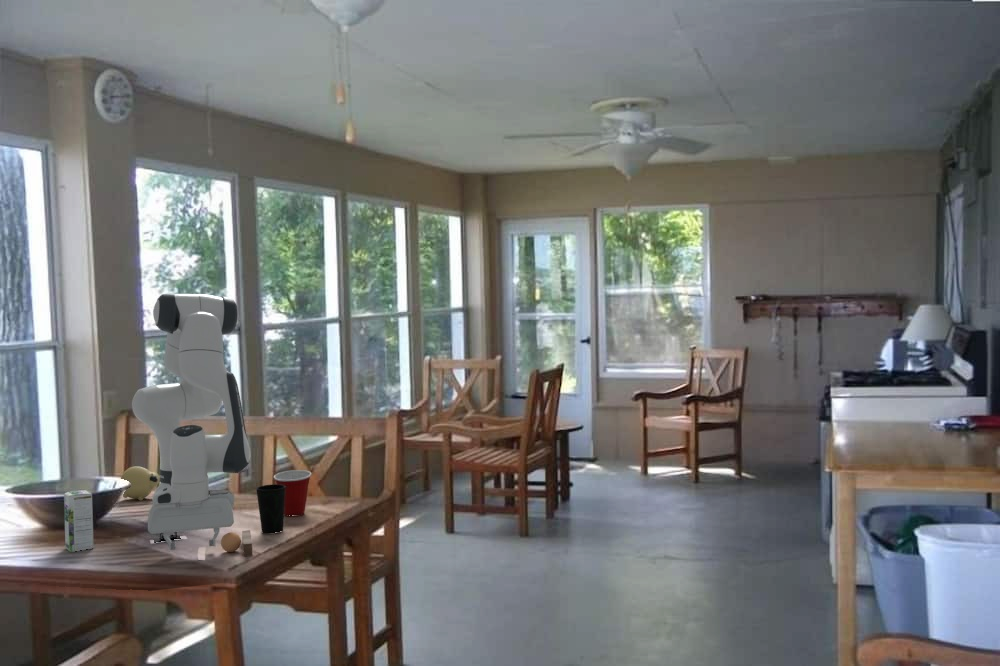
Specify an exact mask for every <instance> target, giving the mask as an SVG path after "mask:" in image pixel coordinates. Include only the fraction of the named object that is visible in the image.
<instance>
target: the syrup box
mask: <svg viewBox="0 0 1000 666" xmlns="http://www.w3.org/2000/svg"><path fill="white" fill-rule="evenodd" d="M63 501H64V503H63V504H64V506H63V508H64V509H63V510H64V536H65V537H64V540H65V544H64V545H65V549H66V550H68V552H69V553H75V551H77V552H81V551H80V550H82V551H86V549H88V550H93V549H94V548H95V547H94V545H95V544H94V520H93V519H94V516H93V513H94V512H93V511H94V510H93V493H92V492H90V491H88V490H85V489H84V490H71V491H67V492H65V493H64V494H63ZM92 548H93V549H92Z"/></svg>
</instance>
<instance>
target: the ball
mask: <svg viewBox="0 0 1000 666" xmlns="http://www.w3.org/2000/svg"><path fill="white" fill-rule="evenodd" d="M241 545H242V537H240V535H239V534H238V533H236V532H232V531H231V532H227V533H225V534H224V535H223V536H222V537H221V539H220V546H221V548H222V549H223V551H225V552H227V553H233V551H234V552H236V551H237V550H239V549H240V547H241Z"/></svg>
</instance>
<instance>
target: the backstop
mask: <svg viewBox="0 0 1000 666" xmlns="http://www.w3.org/2000/svg"><path fill="white" fill-rule="evenodd" d="M241 531H242V532H241V533H242V534H241V536H242V537H241V540H242V549H243V551H244V552H243V551H242V552H243V557H252V556H253V540H252V533H251V529H247V530H241Z"/></svg>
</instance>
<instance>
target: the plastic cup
mask: <svg viewBox="0 0 1000 666" xmlns="http://www.w3.org/2000/svg"><path fill="white" fill-rule="evenodd" d="M311 476H312V472H311V471H309V470H306V469H305V470H304V469H303V470H302V469H293V470H287V471H281V472H278V473H276V474H274V475H273V479H274V480H275V482H276V483H275V484H279V485H284V486H286V489H285V507H284V516H285V515H288V516H287V517H293V516H292V515H300V516H302V515H301V514H303V515H304V514H305V511H306V504H307V497H308V490H309V484H310V480H311V479H310V478H311ZM289 515H290V516H289Z"/></svg>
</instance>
